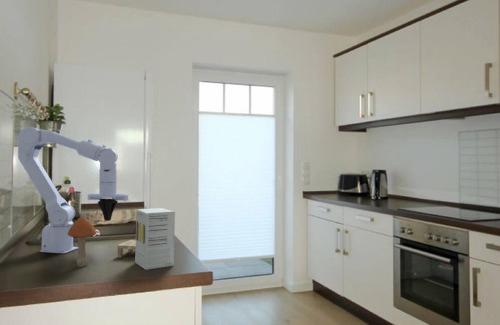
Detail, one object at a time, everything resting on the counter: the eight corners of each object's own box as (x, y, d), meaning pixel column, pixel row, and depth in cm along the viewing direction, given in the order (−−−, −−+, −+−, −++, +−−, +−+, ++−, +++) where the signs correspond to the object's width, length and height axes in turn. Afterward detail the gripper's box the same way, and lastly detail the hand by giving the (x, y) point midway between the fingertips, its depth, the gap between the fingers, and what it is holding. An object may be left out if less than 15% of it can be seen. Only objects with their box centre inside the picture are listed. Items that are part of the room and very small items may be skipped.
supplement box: (134, 262, 119) (135, 209, 119) (162, 258, 124) (163, 207, 124) (145, 270, 111) (146, 212, 111) (174, 265, 116) (175, 210, 116)
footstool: (117, 245, 125) (143, 246, 123) (130, 239, 134) (154, 241, 132) (117, 257, 125) (142, 259, 123) (130, 251, 134) (154, 252, 132)
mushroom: (77, 271, 108) (78, 219, 108) (61, 267, 112) (62, 216, 112) (101, 265, 115) (102, 216, 115) (85, 261, 119) (86, 213, 119)
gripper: (132, 182, 138) (132, 219, 138) (95, 181, 140) (95, 218, 140) (122, 183, 131) (122, 222, 131) (84, 182, 133) (83, 221, 133)
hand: (107, 220), depth 135 cm, fingers closed
